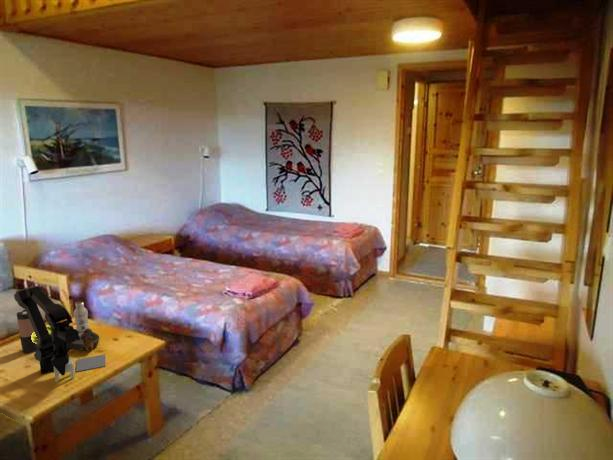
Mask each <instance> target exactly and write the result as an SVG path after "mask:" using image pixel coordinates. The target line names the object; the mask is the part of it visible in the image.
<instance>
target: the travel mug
mask: <svg viewBox="0 0 613 460" xmlns="http://www.w3.org/2000/svg"><path fill="white" fill-rule="evenodd" d="M16 320H17V325H18V334H19V338H20V343H21V348H22V353H24V354H33V353H35V352H36V351H37V348H36V345H37V344H35V343H33V342H32V340H31V335H32V333H33V332H35V331H34V329H33V327H32V324H31V322H30V319H29V317H28V315H27V312H26V310H25V309H23V310H22V311H20V312H19V311H17V313H16Z"/></svg>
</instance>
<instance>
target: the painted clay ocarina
mask: <svg viewBox="0 0 613 460" xmlns="http://www.w3.org/2000/svg"><path fill="white" fill-rule="evenodd" d="M80 338H81V339H82V340H83V346H82V349H81V350H83V351H85V350H86V351H92V350H93V348H97V347H98V345H99V342H100V335H98V333H96V332H94V331H93V330H92V328H87V329H85V330H84V334H82V335H81V336H80Z"/></svg>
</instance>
